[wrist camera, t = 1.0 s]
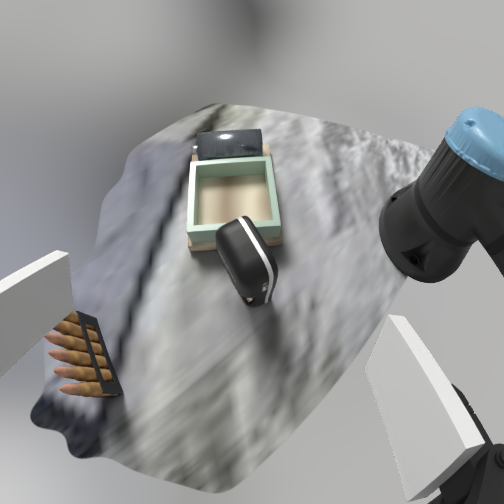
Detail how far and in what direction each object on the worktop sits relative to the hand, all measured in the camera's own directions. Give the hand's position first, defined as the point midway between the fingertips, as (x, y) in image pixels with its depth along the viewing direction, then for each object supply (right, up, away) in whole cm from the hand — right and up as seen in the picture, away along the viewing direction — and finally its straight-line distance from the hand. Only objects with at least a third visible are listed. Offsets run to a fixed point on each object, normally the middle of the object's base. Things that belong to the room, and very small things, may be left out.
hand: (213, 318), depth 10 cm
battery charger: (+1, -2, +25) cm, 25 cm away
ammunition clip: (-18, -11, +21) cm, 30 cm away
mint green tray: (-1, +11, +31) cm, 33 cm away
